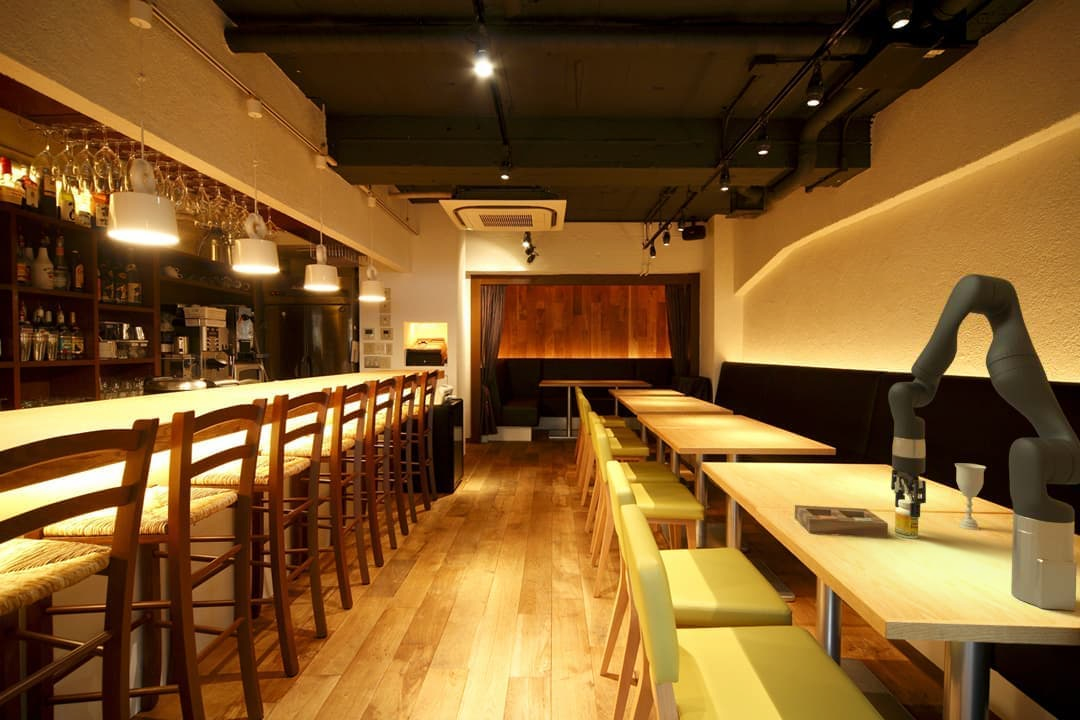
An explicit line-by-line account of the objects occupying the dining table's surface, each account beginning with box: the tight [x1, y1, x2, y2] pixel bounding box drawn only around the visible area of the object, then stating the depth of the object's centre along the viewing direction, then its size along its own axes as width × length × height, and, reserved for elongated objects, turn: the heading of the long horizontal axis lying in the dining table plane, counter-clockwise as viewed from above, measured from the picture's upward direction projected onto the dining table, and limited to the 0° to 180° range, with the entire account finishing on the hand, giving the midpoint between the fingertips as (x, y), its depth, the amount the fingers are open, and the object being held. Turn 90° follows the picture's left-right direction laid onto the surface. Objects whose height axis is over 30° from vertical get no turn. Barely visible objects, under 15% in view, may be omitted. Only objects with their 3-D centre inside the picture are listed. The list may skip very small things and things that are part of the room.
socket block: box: [794, 504, 889, 539], centre depth 157 cm, size 14×20×4 cm
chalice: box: [954, 462, 987, 531], centre depth 158 cm, size 7×7×18 cm
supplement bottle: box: [894, 499, 919, 540], centre depth 150 cm, size 5×5×10 cm
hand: (907, 512), depth 151 cm, fingers open, 8 cm apart
